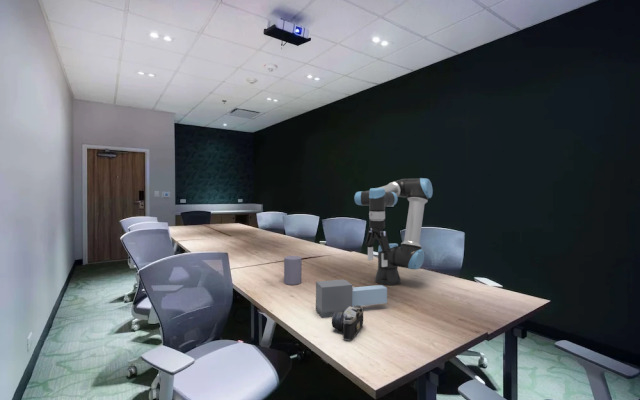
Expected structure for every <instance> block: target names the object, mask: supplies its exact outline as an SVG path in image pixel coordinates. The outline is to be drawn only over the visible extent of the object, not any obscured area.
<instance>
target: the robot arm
mask: <svg viewBox="0 0 640 400" xmlns="http://www.w3.org/2000/svg"><path fill="white" fill-rule="evenodd" d="M432 185H433V184H432V182H431V180H430V179H429V178H423V177H419V178H401V179H398V180H394V181H392V182H389V183H388V184H386V185H383V186H379V187H375V188H373V187H372V188H371V187H370V189H369V190H365V191H356V192H355V194H354V196H353V197H354V198H353V199H354V203H355V204H356V205H358V206H362V207H363V206H366V207H367V206H369V209H368V210H369V213H368V215H369V216H368V217H369V218H368V219H369V221H368V222H369V223H368V224H369V226H368V229H367V235H366V239H365V242H364V244H365V246H366V247H367V261H373V260H374V243H375V241H378V244H379V245H378V249H377V250H378V251H377V255H378V256H377V269H376V270H377V271H376V273H375V276H374V282H375V283H377V284H378V285H383V286H396V285H400V284H401V277H400V274H399V271H398V268H404V269H409V270H416V271H417V270H419V269H420V268H421V267H422V265H423V264H424V262H425V261H424V260H425V251H424V250H423V249H422V245H421V244H420V242H421V235H422V226H423V218H424V211H425V204H427V203H428V201H429V199H431V198H432V197H433V192H434V189H433V186H432ZM398 198H407V201H408V202H409V205H408V209H407V210H408V211H407V212H408V213H407V219H406V225H405V233H404V238H403V239H404V240H403V241H402V242H401V243H400V246H399V244H398V243H395V242H394V243H391V242H389V240H388V239H389V238H388V232H387V231H386V230H384V229H385V228H386V221H385V220H386V207H392V206H396V204H397V203H398ZM383 230H384V231H383Z"/></svg>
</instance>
